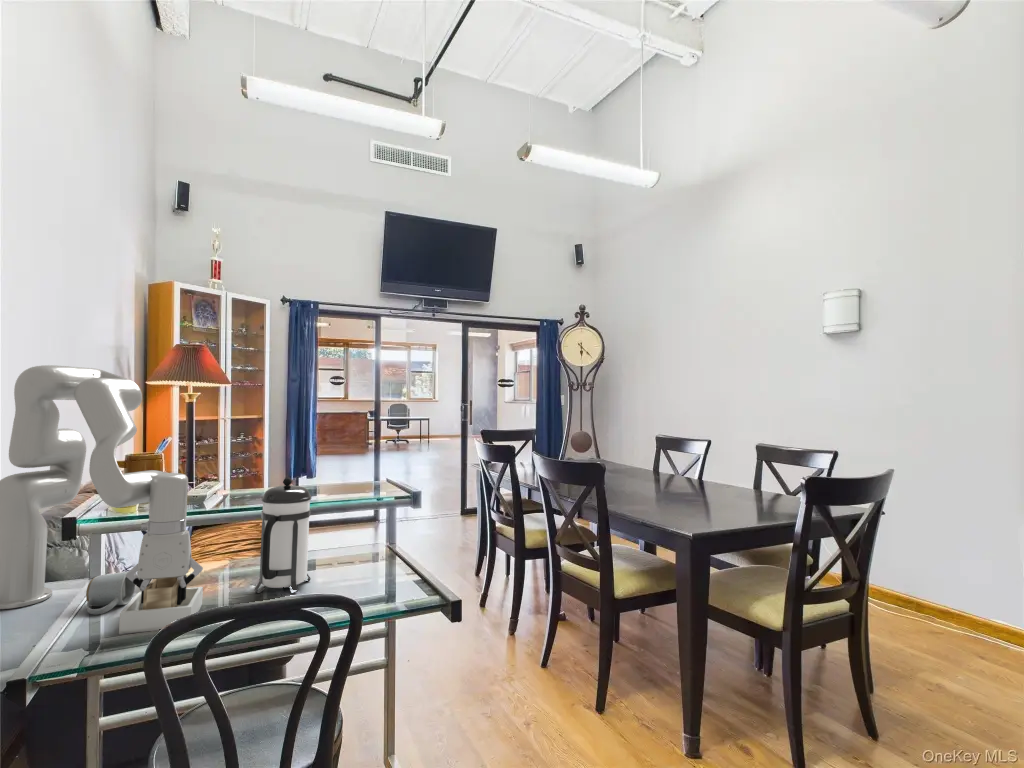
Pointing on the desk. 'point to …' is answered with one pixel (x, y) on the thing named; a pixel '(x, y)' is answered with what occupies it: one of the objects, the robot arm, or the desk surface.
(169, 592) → the birch crate
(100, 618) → the desk surface
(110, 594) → the ceramic mug
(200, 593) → the grey crate
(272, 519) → the coffee press
